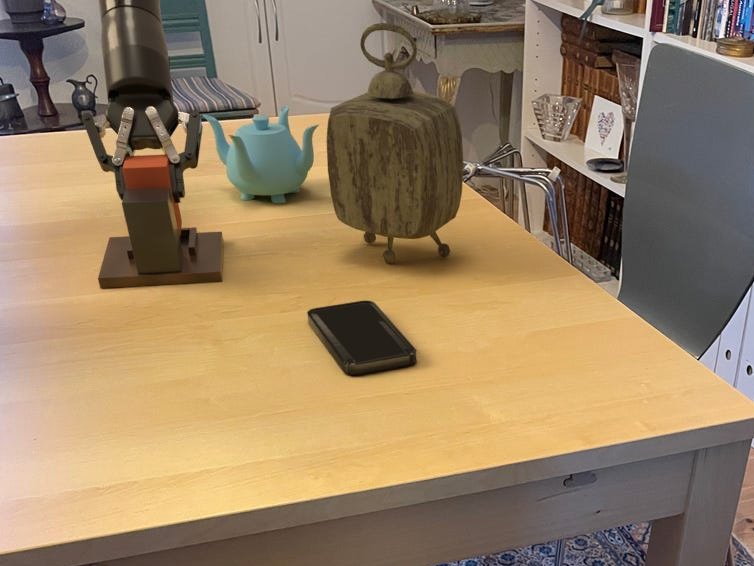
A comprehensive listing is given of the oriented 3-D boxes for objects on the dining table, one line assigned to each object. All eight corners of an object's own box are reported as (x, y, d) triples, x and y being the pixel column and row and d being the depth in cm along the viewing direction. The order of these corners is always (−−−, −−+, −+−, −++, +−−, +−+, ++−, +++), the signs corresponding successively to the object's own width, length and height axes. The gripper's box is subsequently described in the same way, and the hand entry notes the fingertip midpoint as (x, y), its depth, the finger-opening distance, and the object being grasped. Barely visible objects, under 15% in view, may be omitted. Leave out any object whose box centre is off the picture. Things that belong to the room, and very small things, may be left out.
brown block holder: (100, 288, 110) (78, 206, 104) (111, 246, 120) (92, 169, 114) (222, 281, 112) (208, 200, 106) (223, 240, 122) (210, 164, 116)
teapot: (240, 214, 130) (227, 133, 123) (212, 187, 139) (199, 111, 132) (327, 200, 135) (320, 122, 128) (295, 175, 143) (287, 101, 136)
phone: (346, 366, 93) (304, 309, 103) (347, 377, 94) (305, 319, 104) (420, 353, 95) (372, 298, 105) (420, 363, 96) (373, 308, 106)
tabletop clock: (463, 255, 119) (463, 23, 102) (432, 280, 113) (426, 37, 96) (364, 237, 123) (348, 12, 107) (328, 260, 117) (306, 24, 101)
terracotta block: (138, 239, 114) (122, 168, 108) (141, 225, 117) (125, 155, 112) (180, 236, 115) (166, 166, 109) (182, 223, 118) (168, 154, 113)
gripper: (65, 43, 108) (81, 186, 107) (193, 40, 110) (209, 181, 109) (82, 85, 115) (98, 219, 114) (202, 82, 117) (217, 213, 117)
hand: (152, 200), depth 112 cm, fingers closed on terracotta block, 5 cm apart
